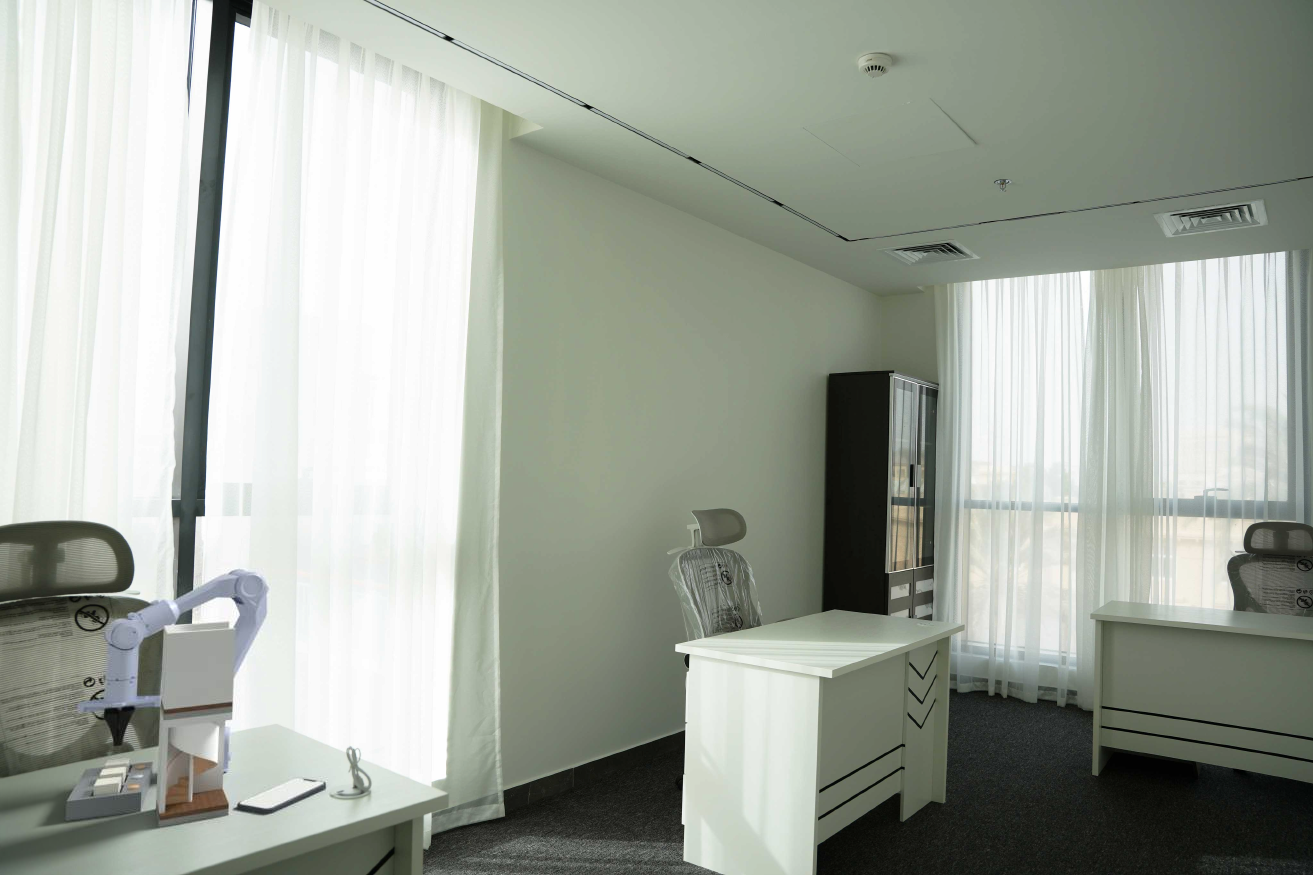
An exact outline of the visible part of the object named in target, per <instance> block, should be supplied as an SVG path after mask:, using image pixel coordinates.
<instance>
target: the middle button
mask: <svg viewBox="0 0 1313 875" xmlns="http://www.w3.org/2000/svg"><path fill="white" fill-rule="evenodd" d="M113 777H122V779H121V783H124V782H125V779H126V767H119V768H110V769H103V770H102V772H101V774H100V776H99V779H104V778H113Z"/></svg>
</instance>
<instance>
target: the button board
mask: <svg viewBox="0 0 1313 875" xmlns="http://www.w3.org/2000/svg"><path fill="white" fill-rule="evenodd" d="M103 769H105V766H102V767H94V768H85V770H84V771H83V773H82V774H81V777H80V778H79V779H78V782H77V783H76V785H75V787H74V788H73V789H72V792H71V793H70V795H69V796H68V798H67V800H66V804H65V805H66V807H65V808H66V809H65V822H68V821H77V820H78V821H79V820H85V819H92V818H101V817H108V816H115V815H123V814H129V813H138V812H141V811H142V809H143V806H144V803H145V800H146V797H147V794H148V791H149V790H150V785H151V784H152V780H153V761H147V762H139V763H138V762H136V763H130V772H129V773H126V779H125V782H124V783H121V793H117V794H109V795H101V796H93V795H94V785H95V783H96V781H97V779H99V776H100V774H101V772H102V770H103Z"/></svg>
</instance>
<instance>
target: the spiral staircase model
mask: <svg viewBox="0 0 1313 875" xmlns="http://www.w3.org/2000/svg"><path fill="white" fill-rule="evenodd" d="M235 634H236V628H233V627H230V621H214V622H200V623H199V622H198V623H185V624H172V625H167V626H164V629H163V636H162V637H163V640H162V641H163V642H162V659H161V660H162V661H161V663H162V664H161V668H162V669H161V684H160V685H161V686H160V695H161V704H160V707H159V708H160V709H159V710H160V711H159V729H158V730H159V731H158V732H159V733H158V734H159V735H158V750H157V751H158V753H157V754H158V755H157V774H156V777H157V778H156V798H155V812H156V817H157V818H156V819H157V824H158V828H163V827H170V826H174V825H175V826H176V825H179V824H185V823H191V822H196V821H202V820H208V819H213V818H219V817H225V816H228V815H230V814H229V810H230V803H229V801H228V799H227V796H226V793H225V791H224V772H223V768H224V743H225V727H226V721H232V720H233V709H234V708H233V706H234V680H235V677H234V659H235Z"/></svg>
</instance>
